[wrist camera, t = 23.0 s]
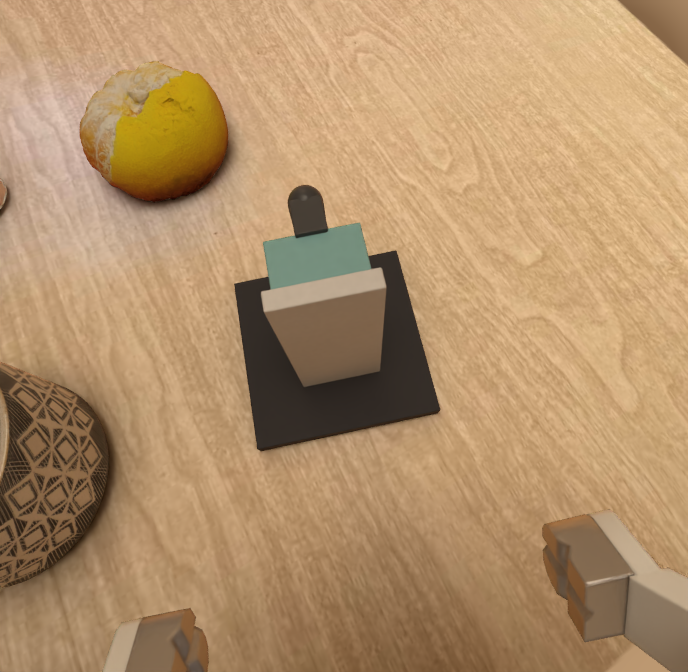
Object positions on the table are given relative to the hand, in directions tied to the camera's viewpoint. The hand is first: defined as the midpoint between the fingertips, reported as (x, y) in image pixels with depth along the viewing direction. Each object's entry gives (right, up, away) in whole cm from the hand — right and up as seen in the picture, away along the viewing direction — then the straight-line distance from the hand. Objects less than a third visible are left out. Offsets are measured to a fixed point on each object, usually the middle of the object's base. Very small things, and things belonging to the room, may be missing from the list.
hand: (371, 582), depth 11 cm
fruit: (-15, +21, +30) cm, 39 cm away
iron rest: (-1, +5, +23) cm, 24 cm away
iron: (-1, +5, +22) cm, 23 cm away
